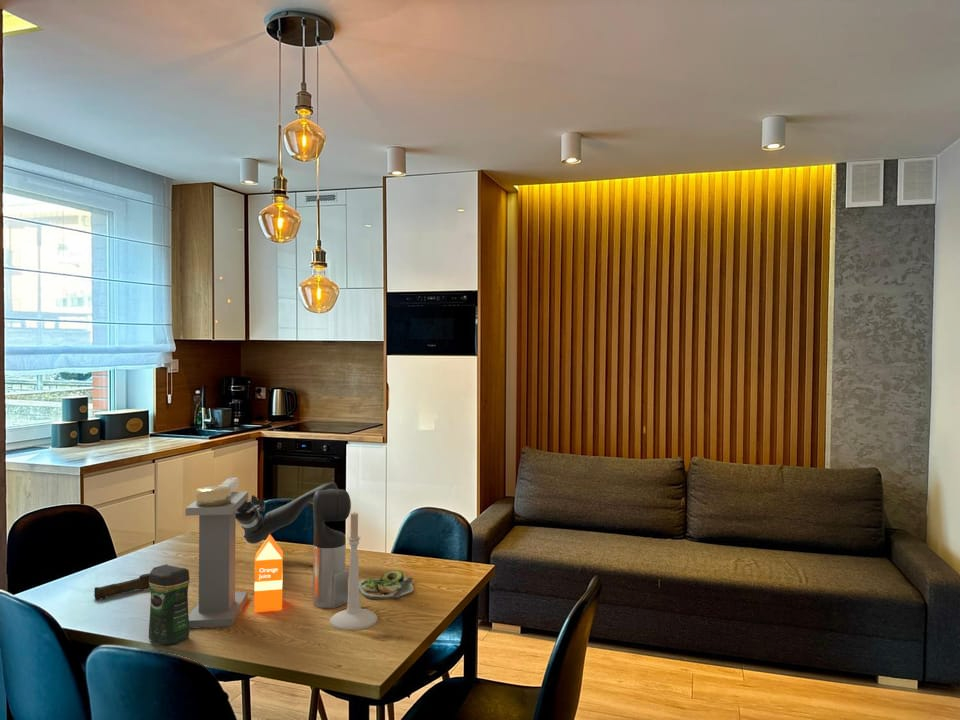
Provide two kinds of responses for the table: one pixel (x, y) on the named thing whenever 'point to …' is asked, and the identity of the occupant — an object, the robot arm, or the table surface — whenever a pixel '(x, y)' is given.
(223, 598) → the shelf
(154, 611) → the coffee jar
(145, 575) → the hand tool
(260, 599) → the orange juice
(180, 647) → the table surface
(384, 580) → the avocado toast plate
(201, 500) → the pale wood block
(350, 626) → the candlestick
